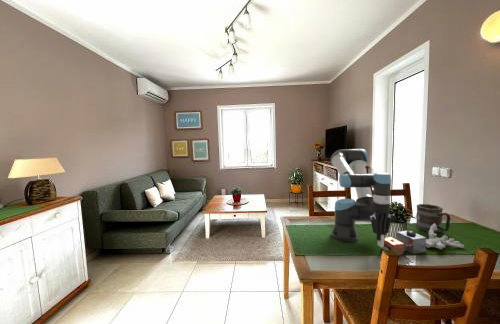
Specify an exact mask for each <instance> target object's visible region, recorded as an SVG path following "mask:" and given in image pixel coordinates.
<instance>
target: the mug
mask: <svg viewBox="0 0 500 324" xmlns="http://www.w3.org/2000/svg"><path fill="white" fill-rule="evenodd" d="M443 210H444V208H443V207H441V206H439V205H434V204H429V203H419V204H416V217H415V219H416V221H415V222H416V223H415V228H417V229H418V230H420V231H424V232H428V233H429V230H430V228H431V226H432V225H433V224H434V223H435V224H436V226H437V229H438V230H435V231H434V232H433V233H437V232H439V233H440V232H448V231H449V229H450V223H451V216H450V215H451V214H449V213H447V212H443ZM444 215H445V216H446V223H445V229H444V228H443V227H442V222H443V216H444Z"/></svg>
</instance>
